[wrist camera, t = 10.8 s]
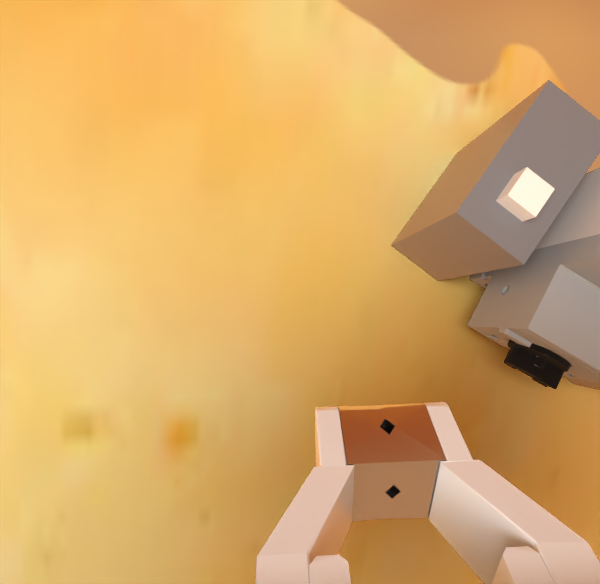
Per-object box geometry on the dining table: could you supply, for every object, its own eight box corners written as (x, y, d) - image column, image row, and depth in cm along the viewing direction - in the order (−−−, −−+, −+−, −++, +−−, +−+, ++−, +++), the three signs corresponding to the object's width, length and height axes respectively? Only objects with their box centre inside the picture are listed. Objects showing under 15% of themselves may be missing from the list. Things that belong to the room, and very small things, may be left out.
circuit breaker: (436, 342, 37) (558, 360, 22) (510, 198, 38) (674, 124, 23) (510, 385, 37) (680, 431, 22) (582, 241, 39) (786, 195, 24)
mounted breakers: (574, 384, 38) (743, 420, 25) (391, 245, 37) (466, 207, 24) (633, 291, 39) (825, 279, 26) (456, 153, 38) (563, 68, 25)
